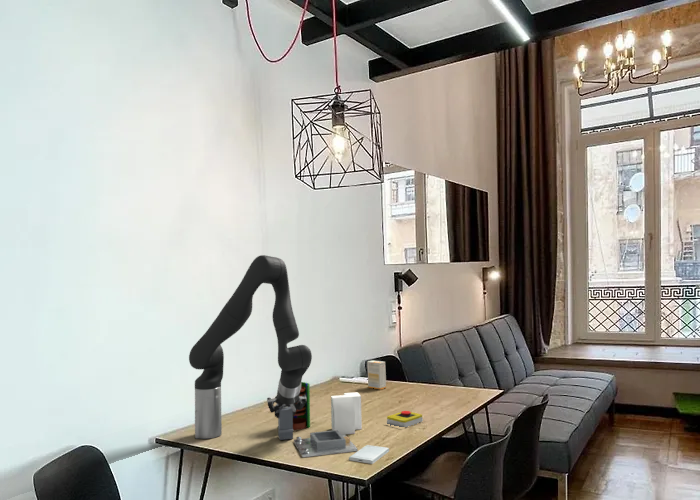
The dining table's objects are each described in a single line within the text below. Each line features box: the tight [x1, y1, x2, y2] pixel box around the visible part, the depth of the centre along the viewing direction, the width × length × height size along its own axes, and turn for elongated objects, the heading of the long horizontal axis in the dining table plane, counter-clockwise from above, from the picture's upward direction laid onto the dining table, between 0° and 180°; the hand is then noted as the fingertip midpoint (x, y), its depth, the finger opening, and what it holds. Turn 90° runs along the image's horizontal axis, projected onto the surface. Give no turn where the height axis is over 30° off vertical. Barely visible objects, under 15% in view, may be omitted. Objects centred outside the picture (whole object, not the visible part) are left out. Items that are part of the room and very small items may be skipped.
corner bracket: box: [330, 391, 363, 435], centre depth 197 cm, size 11×11×12 cm
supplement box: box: [366, 359, 387, 391], centre depth 265 cm, size 8×5×13 cm, turn 46°
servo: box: [277, 407, 294, 441], centre depth 188 cm, size 4×6×11 cm
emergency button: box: [386, 410, 424, 428], centre depth 204 cm, size 9×4×15 cm
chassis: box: [293, 429, 359, 458], centre depth 178 cm, size 18×16×3 cm
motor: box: [290, 381, 311, 431], centre depth 202 cm, size 10×9×20 cm
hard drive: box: [348, 444, 390, 465], centre depth 169 cm, size 2×8×12 cm
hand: (284, 414), depth 190 cm, fingers closed on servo, 4 cm apart
